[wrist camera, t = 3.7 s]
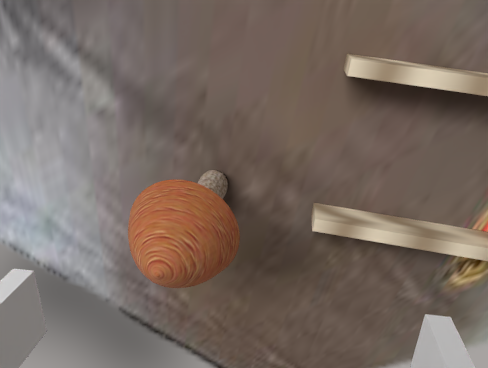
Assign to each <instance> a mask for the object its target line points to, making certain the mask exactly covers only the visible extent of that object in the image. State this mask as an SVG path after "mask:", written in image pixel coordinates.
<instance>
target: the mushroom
mask: <svg viewBox="0 0 488 368" xmlns="http://www.w3.org/2000/svg"><path fill="white" fill-rule="evenodd" d="M227 180H228V179H226V176H224V175H223V173H220V171H216V170H210V171H208V172H205V173H204V174H203V175H202V176H201V178H200V180H199V182H198V184H197V183H194V182H191V181H186V180H166V181H161V182H158V183H155V184H153V185H151V186H149V187H148V188H146V189H145V190H144V191H142V193H141V194H140V195H139V196H138V197H137V198H136V200H135V202H134V203H133V206H132V209H131V212H130V218H129V227H128V239H129V246H130V251H131V254H132V256H133V259H134V261H135V263H136V265H137V267H138V268H139V269H140V271H141V272H142V273H143V274H144V275H145V276H146V277H147V278H148V279H150V280H151V281H152V282H154V283H156V284H158V285H161V286H164V287H169V288H184V287H191V286H195V285H198V284H200V283H203V282H205V281H207V280H209V279H211V278H212V277H214V276H216V275H217V274H218V273H220V272H221V271H223V270H224V269H225V268H226V267H227V266H228V265H229V264H230V263H231V262H232V260H233V259H234V257H235V255H236V253H237V250H238V247H239V240H240V236H239V228H238V223H237V221H236V218H235V216H234V214H233V212H232V211H231V209H230V207H229V206H228V205H227V204H226V203H225V201H224V200H223V198H224V196H225V194H226V193H227V188H228V183H227Z"/></svg>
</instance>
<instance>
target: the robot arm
mask: <svg viewBox="0 0 488 368" xmlns="http://www.w3.org/2000/svg"><path fill="white" fill-rule="evenodd" d="M46 332H47V328H46V323H45V319H44V315H43V310H42V305H41V301H40V296H39V292H38V287H37V283H36V278H35V273H34V271H29V270H21V269H12V270H11V271H10V272H9V273H8V274H7V275H6V276H5V277H4V278H3V279H2V280H0V368H19V367H20V366H21V364H22V363H23V362H24V360H25V359H26V358H27V357H28V355H29V354H30V353H31V351H32V350H33V349H34V348H35V346H36V345H37V344H38V342H39V341H40V340H41V339H42V337H43V336H44V335H45V333H46ZM410 368H475V366H474V364H473V362H472V360H471V358H470V356H469V354H468V352H467V350H466V348H465V346H464V344H463V341H462V339H461V337H460V335H459V333H458V331H457V329H456V327H455V325H454V323H453V321H452V319H451V317H445V316H436V315H427V314H425V317H424V320H423V324H422V327H421V331H420V334H419V338H418V341H417V345H416V348H415V352H414V356H413V359H412V363H411V366H410Z"/></svg>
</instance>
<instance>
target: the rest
mask: <svg viewBox="0 0 488 368" xmlns="http://www.w3.org/2000/svg"><path fill="white" fill-rule="evenodd" d="M344 71H345V73H346V74H347V76H352V77H359V78H366V79H373V80H379V81H386V82H393V83H400V84H407V85H414V86H421V87H428V88H435V89H442V90H449V91H456V92H463V93H469V94H476V95H483V96H488V73H481V72H474V71H467V70H460V69H453V68H446V67H438V66H431V65H424V64H417V63H410V62H403V61H396V60H389V59H382V58H374V57H367V56H360V55H353V54H347V56H346V61H345V65H344ZM311 215H312V231H316V232H321V233H327V234H333V235H339V236H345V237H351V238H356V239H362V240H368V241H374V242H380V243H385V244H391V245H397V246H403V247H409V248H415V249H420V250H426V251H432V252H438V253H444V254H449V255H455V256H461V257H467V258H473V259H478V260H484V261H488V232H486V231H480V230H474V229H468V228H462V227H456V226H450V225H444V224H438V223H432V222H426V221H420V220H414V219H408V218H402V217H396V216H390V215H384V214H378V213H372V212H366V211H360V210H354V209H348V208H342V207H336V206H330V205H324V204H318V203H314V205H313V210H312V214H311Z"/></svg>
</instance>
